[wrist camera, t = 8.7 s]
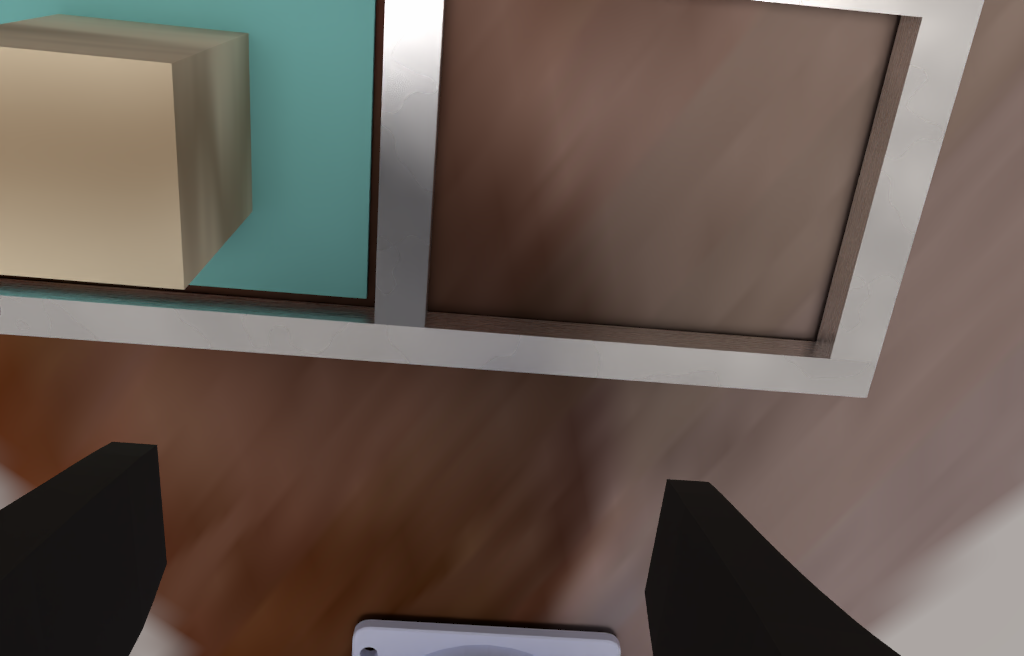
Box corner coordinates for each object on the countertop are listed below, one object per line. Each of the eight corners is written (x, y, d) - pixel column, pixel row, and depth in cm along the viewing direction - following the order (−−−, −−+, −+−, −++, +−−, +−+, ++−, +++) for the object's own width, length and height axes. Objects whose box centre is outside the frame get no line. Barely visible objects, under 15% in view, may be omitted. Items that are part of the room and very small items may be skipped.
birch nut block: (252, 211, 20) (184, 289, 16) (77, 195, 20) (-43, 271, 16) (248, 33, 19) (171, 63, 14) (58, 14, 19) (-82, 38, 14)
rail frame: (851, 379, 23) (866, 398, 22) (-79, 309, 21) (-104, 325, 21) (968, -30, 19) (992, -29, 18) (-169, -150, 17) (-205, -154, 17)
